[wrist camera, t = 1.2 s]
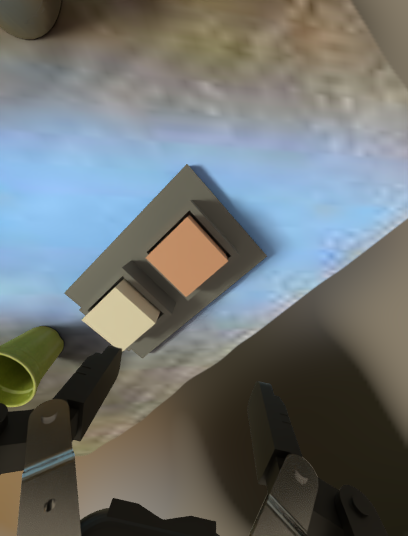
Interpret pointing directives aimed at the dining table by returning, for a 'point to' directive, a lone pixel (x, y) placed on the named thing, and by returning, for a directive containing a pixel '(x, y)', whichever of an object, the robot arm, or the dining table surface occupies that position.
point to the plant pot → (26, 364)
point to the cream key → (122, 315)
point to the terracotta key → (187, 256)
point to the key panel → (149, 277)
